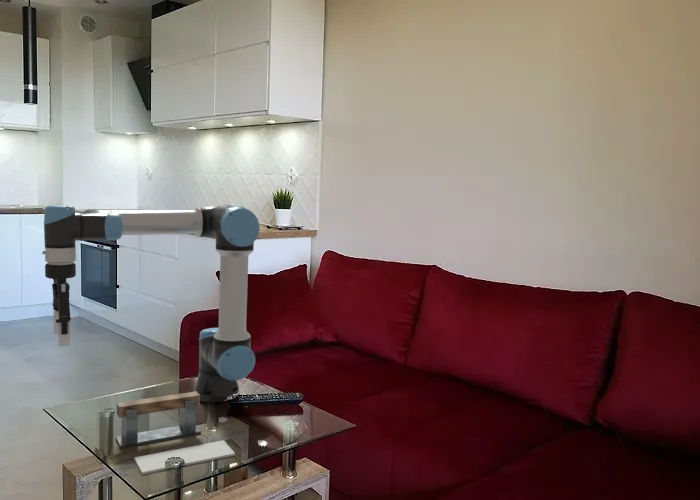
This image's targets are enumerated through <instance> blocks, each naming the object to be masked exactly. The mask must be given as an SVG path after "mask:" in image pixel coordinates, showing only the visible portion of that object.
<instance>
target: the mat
mask: <svg viewBox="0 0 700 500" xmlns="http://www.w3.org/2000/svg"><path fill="white" fill-rule="evenodd" d="M234 456H236V452H235V451H234V450H233V449H232V448H231V447H230V445H228V443H227V442H226V441H225V440H224V439H223V440H219V441H218V440H217V441H213V442H208V443H201V444H198V445H191V446H186V447H182V448H177V449H170V450H166V451H161V452H155V453H151V454H146V455H140V456H134V461H135V464H136V465H137V468H138V470H139V471H140V473H141V475H147V474H152V473H157V472H161V471H165V470H164V469H165V461H166V460H167V459H168V458H171V457H180V458H182V459H184V461H185V463H186V464H187V465H186V466H191V465H195V464H201V463H205V462H209V461H215V460H219V459H225V458H228V457H234Z"/></svg>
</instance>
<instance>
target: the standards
mask: <svg viewBox="0 0 700 500" xmlns="http://www.w3.org/2000/svg"><path fill="white" fill-rule="evenodd" d="M178 412H179V413H178V425H175V426H170V427H169V426H168V427H163V428H158V429H151V430H146V431H140V432H139V431H138V428H139V427H138V425H139V420H138V417H139V415H138V410H137V409H132V410H125V417H122V418H121V435H117V436H115V441H116V442H117V445H118V446H120V447H119V448H120V449H123V448H124V449H125V448H130V447H135V446H140V445H141V446H142V445H147V444H152V443H153V444H154V443H158V442H163V441H168V440H174V439H180V438H185V437H189V436H190V437H191V436H196V435H200V434H201V433H202V431H201V429H200V428H199V427H198V426H197V406H196V400H191V401H185V408H179V411H178Z"/></svg>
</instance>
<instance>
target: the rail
mask: <svg viewBox="0 0 700 500" xmlns="http://www.w3.org/2000/svg"><path fill="white" fill-rule="evenodd" d="M191 400H196V407H198V406H199V407H200V406H201V404H200V403H201V401H200V395H199V394H198V393H197V392H196V391H194V390H193V391H190V392H181V393H176V394H169V395H160V396H156V397H155V396H154V397H148V398H141V399H134V400H127V401H121V402H118V401H117V402H116V414H117V416H118V418H119V419H122V417H125V410H132V409H137V410H138V416H139V415H146V414H152V413H159V412H165V411H171V410H177V409H179V408H185V401H191Z"/></svg>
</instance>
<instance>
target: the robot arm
mask: <svg viewBox="0 0 700 500" xmlns="http://www.w3.org/2000/svg"><path fill="white" fill-rule="evenodd" d="M43 214H44V215H43V216H44V217H43V218H44V219H43V231H44V232H43V233H44V236H43V237H44V238H43V239H44V250H42V251H41V252H42V253H41V254H42V255H44V261H45V262H46V264H45V265H44V276H45V277H46V278H47V279H52V280H53V283H52V284H51V287H52V288H51V289H52V309H53V335H57V336H58V337H57V338H58V347H68V346H71V320H72V318H71V309H70V308H71V307H70V306H71V305H70V284H69V282H68V281H67V279H72V278H74V277H76V276H77V273H76V272H77V270H76V267H77V265H76V263H75V262H76V261H77V252H76V251H77V250H76V249H77V247H76V241H81V242H82V241H114V240H120V239H121V238H122V236H141V235H142V236H148V235H151V236H153V235H194V236H195V237H197V238H211V239H215V251H216V252H217V253H219V255H220V260H219V262H220V264H219V297H218V299H219V300H218V327H209V328H204V329H202V330H201V331H200V332H199V339H198V341H199V343H198V345H199V346H198V349H199V351H198V353H199V354H198V356H199V357H198V359H199V360H198V365H199V366H198V375H197V378H196V381H195V384H194V386H193V392H194V391H196V392H197V393H198V394H199V395H200V402H202V403H209V404H210V403H211V404H212V403H213V404H215V403H216V402H220V403H222V402H221V401H224V400H226V399H227V397H228V396H229V395H233V394H237V393H238V392H239V393H240V387H239V383H238V381H240V380H244V379H245V378H246V377H248V376H249V374H250V373H251V372H252V371H253V369H254V367H255V366H256V365H255V364H256V355H255V353H254V351H253V350H252V349H251V346H252V345H251V342H252V339H251V338H252V336H251V334H250V333H249V331H247V316H248V315H247V313H248V312H247V311H248V310H247V307H248V285H249V284H248V281H249V280H248V277H249V275H248V273H249V256H250V255H251V254H252V252H254V249H255V248H254V247H255V246H254V245H255V241H256V240H257V238H258V236H259V235H260V222H259V219H258V217H257V215H256V214H255V213H254V212H253V211H251V210H250V209H247V208H246V207H243V206H239V205H231V204H220V205H212V206H197V207H195V208H194V209H193V210H192V209H191V210H190V209H189V210H188V209H182V210H181V209H179V210H177V209H175V210H174V209H172V210H170V209H168V210H167V209H165V210H164V209H162V210H161V209H160V210H159V209H158V210H155V209H149V210H148V209H147V210H146V209H143V210H142V209H139V210H137V209H135V210H133V209H132V210H131V209H128V210H127V209H126V210H125V209H121V210H119V209H118V210H116V209H115V210H114V209H113V210H110V209H109V210H106V209H105V210H104V209H102V210H99V209H98V210H97V209H94V208H93V209H86V210H84V211H81V212H76V208H75V207H74V206H73V205H64V204H63V205H61V204H60V205H58V204H56V205H53V204H51V205H47V206H46V207H45V208H44V213H43ZM216 404H217V403H216Z"/></svg>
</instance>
